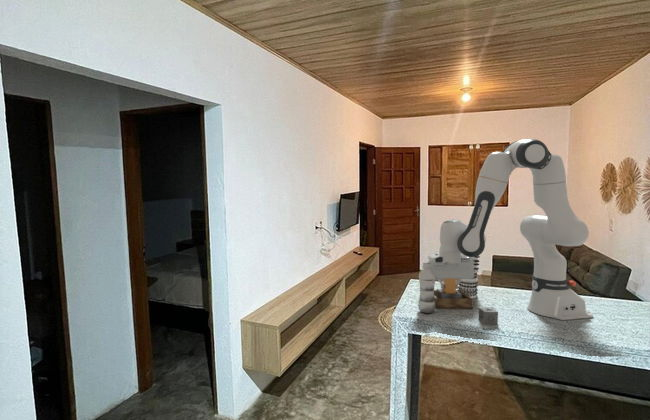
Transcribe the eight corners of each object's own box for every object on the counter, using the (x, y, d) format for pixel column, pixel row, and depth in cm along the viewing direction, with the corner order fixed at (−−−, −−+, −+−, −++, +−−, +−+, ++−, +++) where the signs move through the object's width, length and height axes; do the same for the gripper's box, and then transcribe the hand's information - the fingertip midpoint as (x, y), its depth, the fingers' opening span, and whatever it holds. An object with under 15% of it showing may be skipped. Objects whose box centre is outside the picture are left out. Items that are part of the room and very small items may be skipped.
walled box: (459, 298, 160) (460, 286, 160) (472, 308, 147) (472, 296, 147) (426, 298, 160) (427, 287, 160) (436, 308, 147) (436, 296, 147)
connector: (451, 296, 155) (452, 275, 155) (455, 299, 151) (456, 277, 151) (442, 296, 155) (443, 275, 155) (446, 299, 151) (446, 277, 151)
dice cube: (483, 325, 131) (484, 311, 130) (478, 319, 136) (478, 307, 135) (497, 325, 131) (498, 312, 130) (491, 319, 136) (491, 307, 135)
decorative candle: (472, 291, 170) (474, 240, 168) (482, 298, 161) (484, 243, 159) (453, 292, 169) (455, 240, 167) (462, 298, 160) (464, 244, 158)
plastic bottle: (436, 315, 140) (437, 265, 138) (418, 314, 141) (419, 264, 139) (434, 309, 146) (435, 262, 144) (417, 308, 147) (418, 261, 146)
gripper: (470, 255, 155) (469, 286, 156) (424, 255, 155) (423, 286, 156) (477, 258, 149) (476, 290, 150) (429, 258, 149) (428, 290, 150)
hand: (449, 288), depth 153 cm, fingers closed on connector, 4 cm apart
